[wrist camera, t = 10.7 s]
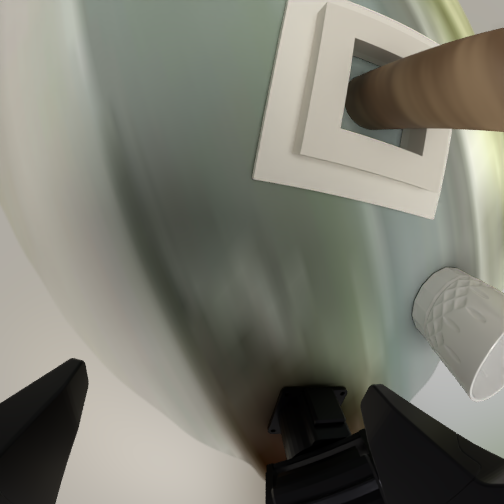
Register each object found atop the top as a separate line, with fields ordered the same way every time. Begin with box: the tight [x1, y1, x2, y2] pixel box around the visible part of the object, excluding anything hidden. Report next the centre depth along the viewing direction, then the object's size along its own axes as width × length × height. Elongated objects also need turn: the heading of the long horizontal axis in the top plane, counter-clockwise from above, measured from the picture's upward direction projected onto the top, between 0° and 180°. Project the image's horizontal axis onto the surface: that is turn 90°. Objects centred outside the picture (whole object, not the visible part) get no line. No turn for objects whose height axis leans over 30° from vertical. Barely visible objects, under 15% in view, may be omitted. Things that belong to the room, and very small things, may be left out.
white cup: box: [412, 267, 504, 402], centre depth 20 cm, size 8×8×10 cm
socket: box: [252, 0, 452, 220], centre depth 17 cm, size 14×14×3 cm
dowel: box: [345, 28, 504, 132], centre depth 12 cm, size 4×4×13 cm
